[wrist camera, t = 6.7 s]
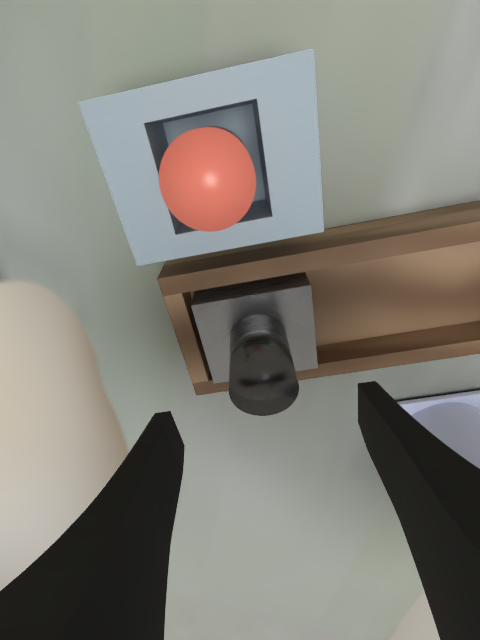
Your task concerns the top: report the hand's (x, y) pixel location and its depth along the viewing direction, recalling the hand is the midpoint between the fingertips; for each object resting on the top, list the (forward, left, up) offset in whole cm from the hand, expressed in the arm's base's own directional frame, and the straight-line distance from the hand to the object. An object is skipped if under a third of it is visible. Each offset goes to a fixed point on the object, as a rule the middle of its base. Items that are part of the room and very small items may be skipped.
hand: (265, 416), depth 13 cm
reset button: (+8, 0, -6) cm, 10 cm away
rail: (0, -5, -9) cm, 11 cm away
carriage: (0, 0, -8) cm, 8 cm away
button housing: (+8, 0, -9) cm, 13 cm away
